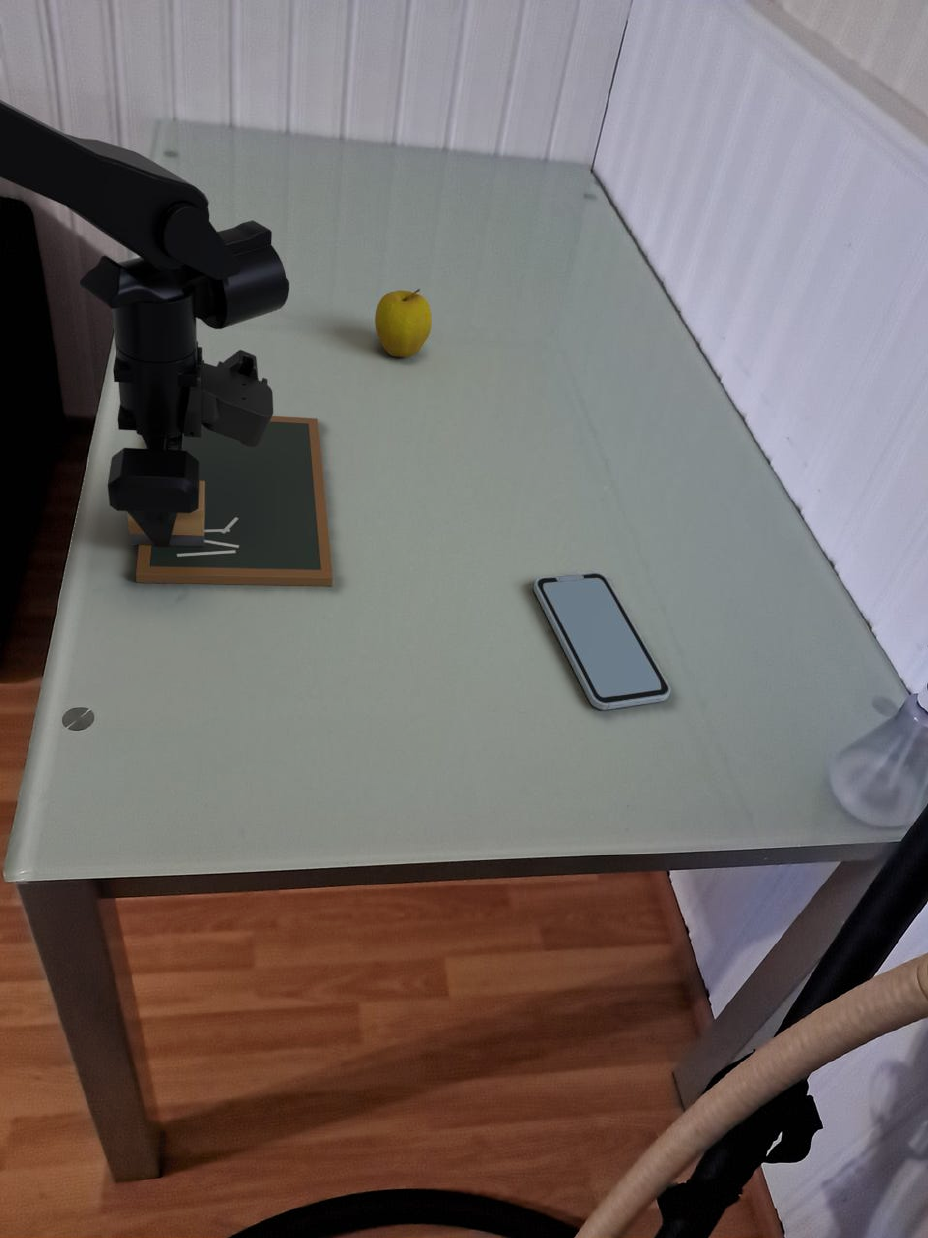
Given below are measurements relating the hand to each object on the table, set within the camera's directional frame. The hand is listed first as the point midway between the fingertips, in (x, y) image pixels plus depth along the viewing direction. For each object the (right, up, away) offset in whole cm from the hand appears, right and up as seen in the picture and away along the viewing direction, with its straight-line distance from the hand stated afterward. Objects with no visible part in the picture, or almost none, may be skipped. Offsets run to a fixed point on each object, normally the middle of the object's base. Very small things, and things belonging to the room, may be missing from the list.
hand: (165, 509), depth 81 cm
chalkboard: (+4, +2, +8) cm, 9 cm away
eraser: (0, -2, +2) cm, 2 cm away
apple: (+18, +22, +32) cm, 42 cm away
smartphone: (+37, -11, +3) cm, 39 cm away
